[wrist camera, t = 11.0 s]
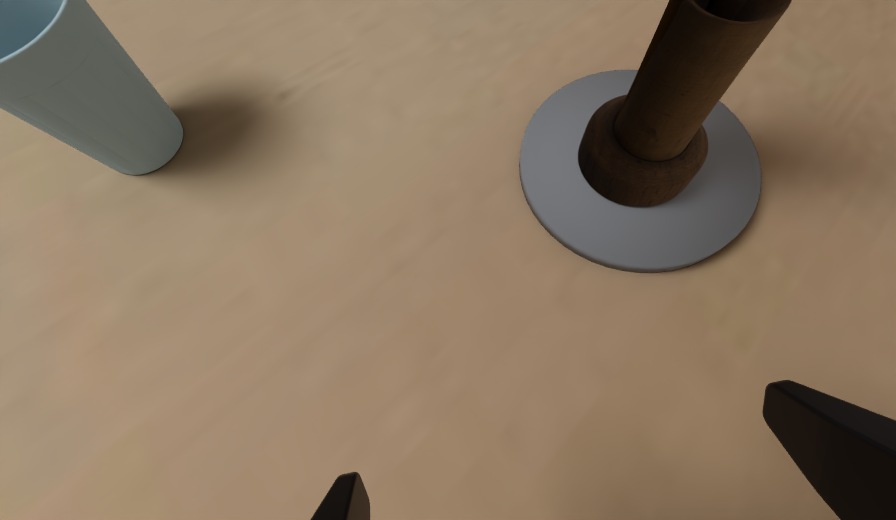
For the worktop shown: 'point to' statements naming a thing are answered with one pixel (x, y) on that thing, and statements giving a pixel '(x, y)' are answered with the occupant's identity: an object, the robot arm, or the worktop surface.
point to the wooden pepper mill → (672, 100)
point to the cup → (82, 86)
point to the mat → (628, 227)
